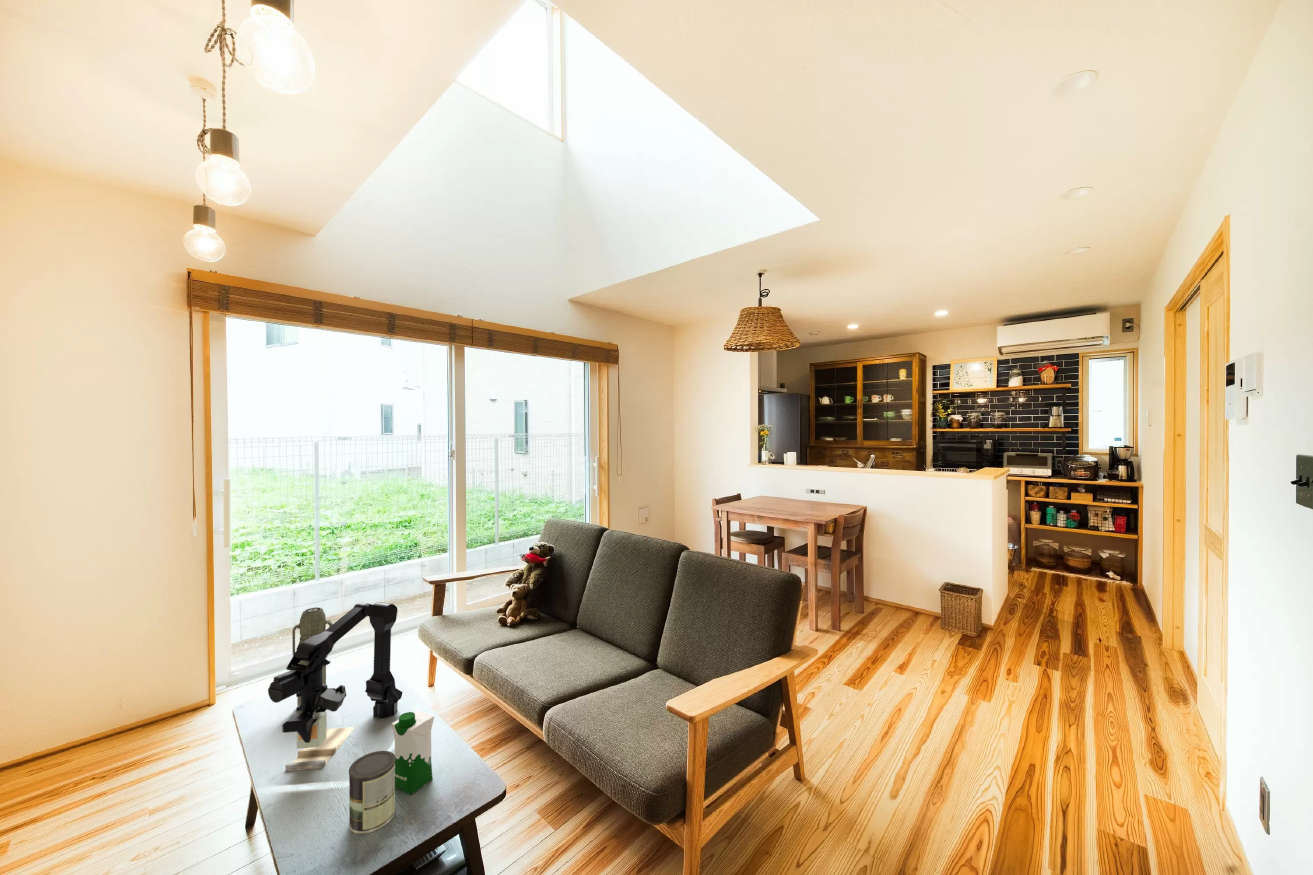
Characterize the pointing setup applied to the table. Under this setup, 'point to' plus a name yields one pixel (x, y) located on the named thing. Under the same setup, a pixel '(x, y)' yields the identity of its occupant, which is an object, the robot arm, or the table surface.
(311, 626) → the thermos
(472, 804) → the table surface
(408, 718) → the milk carton
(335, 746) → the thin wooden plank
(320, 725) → the carton
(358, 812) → the coffee can
